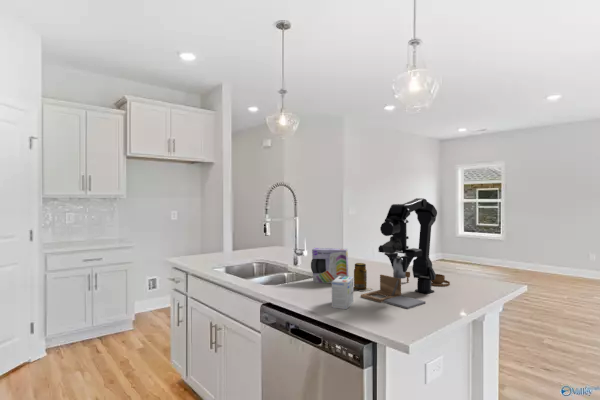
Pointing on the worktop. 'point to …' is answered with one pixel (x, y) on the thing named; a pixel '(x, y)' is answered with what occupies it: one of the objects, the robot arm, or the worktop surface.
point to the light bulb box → (342, 292)
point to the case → (386, 289)
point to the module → (398, 268)
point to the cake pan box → (329, 264)
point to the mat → (404, 302)
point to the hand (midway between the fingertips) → (399, 271)
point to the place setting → (436, 282)
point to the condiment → (360, 277)
